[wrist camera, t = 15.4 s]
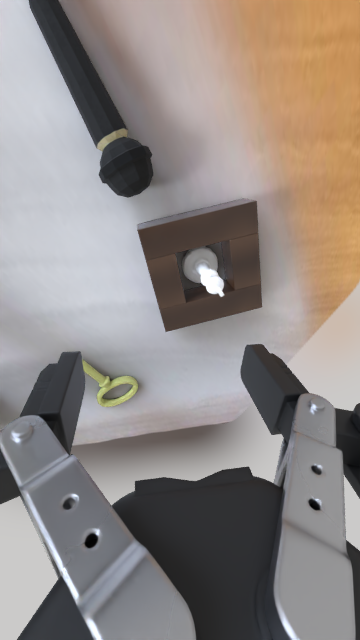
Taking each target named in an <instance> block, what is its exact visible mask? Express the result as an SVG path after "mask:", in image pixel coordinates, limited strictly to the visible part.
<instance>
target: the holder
mask: <svg viewBox="0 0 360 640" xmlns="http://www.w3.org/2000/svg"><path fill="white" fill-rule="evenodd" d="M138 234H139V237H140V241H141V245H142V248H143V252H144V255H145V259H146V262H147V266H148V270H149V273H150V277H151V280H152V284H153V288H154V291H155V295H156V298H157V302H158V305H159V309H160V313H161V316H162V320H163V323H164V327H165V331H166V332H168V331H172V330H175V329H179V328H183V327H187V326H191V325H195V324H199V323H203V322H207V321H210V320H214V319H218V318H222V317H226V316H230V315H234V314H238V313H242V312H245V311H249V310H253V309H257V308H261V307H262V296H261V277H260V258H259V239H258V220H257V201H254V200H249V199H239V200H235V201H231V202H227V203H223V204H219V205H215V206H211V207H207V208H203V209H199V210H194V211H190V212H186V213H182V214H178V215H174V216H170V217H166V218H162V219H158V220H154V221H149V222H145V223H141V224H138ZM219 242H221V245H222V253H223V261H224V269H225V277H226V280H224V281H223V282H224V287H223V289H222V292H223V293H224V296H222V297H221V296H220V295H219V294H218V293H217V294H211V293H209V292H208V291H207V289H206V286H200V287H197V288H193V289H189V290H185V291H183V286H182V282H181V277H180V272H179V268H178V263H177V259H176V254H175V253H179V252H183V251H187V250H191V249H195V248H199V247H203V246H207V245H211V244H215V243H219Z"/></svg>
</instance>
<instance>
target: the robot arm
mask: <svg viewBox="0 0 360 640" xmlns="http://www.w3.org/2000/svg"><path fill="white" fill-rule="evenodd" d="M241 379H242V381H243V383H244V385H245V387H246V389H247V390H248V392H249V394H250V396H251V398H252V400H253V402H254V403H255V405H256V407H257V409H258V411H259V413H260V414H261V416H262V418H263V420H264V422H265V423H266V425H267V427H268V429H269V431H270V433H271V434H272V435H275V434H282V435H283V437H284V439H283V442H282V446H281V450H280V456H279V461H278V465H277V470H276V475H275V479H274V483H272V482H270V481H267V480H265V479H262V478H259V477H254V476H253V475H252V473H251V470H250V468H249V467H242V468H234V469H226V470H222V471H219V472H217V473H214V474H212V475H210V476H208V477H205V478H203V479H201V480H198V481H188V480H181V479H173V478H166V477H163V478H156V479H148V480H140V481H135V491H134V492H132V493H129V494H128V495H126V496H124V497H122V498H121V499H119V500H118V501H117V502H116V503H114V504H113V505H112V506H111V505H110V503H109V502H108V500H107V499H106V498H105V496H104V495H103V493H102V492H101V491H100V490H99V488H98V487H97V485H96V484H95V482H94V481H93V480H92V478H91V477H90V476H89V474H88V473H87V471H86V470H85V469H84V467H83V466H82V464H81V463H80V462H79V460H78V459H77V458H76V457H75V456H74V455H73V454H71V455H70V452H71V447H72V443H73V439H74V434H75V430H76V425H77V421H78V417H79V412H80V408H81V404H82V399H83V395H84V390H85V376H84V369H83V363H82V356H81V352H80V351H79V352H62V354H61V356H60V359H59V361H58V364H49V365H48V366H47V367H46V368H45V369H44V370H42V371H41V373H40V375H39V377H38V379H37V382H36V383H35V385H34V388H33V390H32V392H31V394H30V396H29V398H28V400H27V402H26V404H25V406H24V409H23V411H22V413H21V415H20V417H19V418H18V419H16V420H14V421H12V422H10V423H9V424H8V425H7V426H5V427H4V429H3V430H2V431H1V432H0V504H2V503H4V502H7V501H9V500H11V499H14V498H16V497H18V496H20V497H21V499H22V501H23V504H24V506H25V508H26V510H27V512H28V514H29V516H30V518H31V521H32V522H33V525H34V527H35V529H36V531H37V533H38V535H39V538H40V540H41V542H42V544H43V547H44V549H45V551H46V553H47V556H48V558H49V560H50V562H51V564H52V566H53V569H54V570H55V573H56V575H57V577H58V581H57V582H56V584H55V585H54V586H53V588H52V589H51V591H50V592H49V594H48V595H47V597H46V598H45V599H44V601H43V602H42V604H41V605H40V607H39V608H38V610H37V611H36V613H35V614H34V615H33V617H32V619H31V620H30V621H29V623H28V624H27V626H26V627H25V628H24V630H23V631H22V633H21V634H20V636H19V637H18V639H17V640H360V551H359V550H358V549H356V548H355V547H354V546H353V545H352V544H350V543H349V542H348V541H347V540H346V531H345V530H346V529H345V503H344V476H343V474H344V475H345V477H346V478H347V480H348V481H349V483H350V484H351V486H352V487H353V489H354V491H355V492H356V494H357V495H358V497H359V498H360V403H359V404H357V405H356V407H355V408H354V411H348V410H342V409H337V408H334V407H333V405H332V404H331V403H330V402H329V401H327V400H326V399H324V398H323V397H321V396H318V395H315V394H311V393H309V392H308V391H307V390H306V388H305V387H304V386H303V385H302V383H301V382H300V381H299V380H298V379H297V377H296V376H295V375H294V374H292V371H291V370H290V369H289V368H287V365H286V364H285V363H284V362H283V361H282V359H280V358H279V357H277V356H276V355H274V354H273V353H272V354H270V353H269V352H268V350H267V349H266V348H265V347H264V345H262V344H255V345H247V346H246V347H245V351H244V356H243V361H242V365H241Z"/></svg>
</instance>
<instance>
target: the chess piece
mask: <svg viewBox="0 0 360 640" xmlns="http://www.w3.org/2000/svg"><path fill="white" fill-rule="evenodd" d="M217 269H218V259H217V257H216V255H215V253H214V252H213V251H212V250H211V249H210V248H207V247H204V246H203V247H199V248H195V249H191V250H189V251H188V252H187V253H186V255H185V256H184V258H183V261H182V270H183V273H184V275H185V276H186V277H187V278H188V279H189V280H191V281H193V282H196V283H202V284H203V285H204V286H206V289H207V291H208V292H209V293H211V294H217V293H218V294H219V295H220V296H221V297H222V296H224V293H223V292H222V289H223V287H224V282H223V280H222V279H221V278H220V277H219V276H218V273H217Z"/></svg>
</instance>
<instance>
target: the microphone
mask: <svg viewBox="0 0 360 640" xmlns="http://www.w3.org/2000/svg"><path fill="white" fill-rule="evenodd" d="M29 4H30V8H31V11H32V13H33V15H34V17H35V19H36V21H37V23H38V25H39V27H40V29H41V32H42V34H43V36H44V38H45V40H46V42H47V44H48V46H49V48H50V51H51V53H52V55H53V57H54V59H55V61H56V63H57V65H58V67H59V70H60V72H61V74H62V76H63V78H64V80H65V82H66V84H67V86H68V89H69V91H70V93H71V95H72V97H73V99H74V101H75V103H76V105H77V108H78V110H79V112H80V114H81V116H82V118H83V120H84V122H85V124H86V127H87V129H88V131H89V133H90V135H91V137H92V139H93V141H94V143H95V146H96V148H97V149H99V150H101V151H103V153H102V157H101V161H100V166H101V169H100V173H99V176H100V178H101V180H102V182H103V183H107V184H108V186H109V187H110V188H111V189H112V190H113V191H114V192H115V193H116V194H117V195H120V196H124V197H131V196H134V195H137V194H140V193H141V192H142V191H144V190H145V189H146V188H147V187H148V186H149V185H150V182H151V179H152V177H153V168H152V163H151V160H150V158H151V156H152V154H151V152H150V150H149V148H148V147H147V146H143V145H141V144H140V143H139V142H138V141H136V140H133V139H130V138H127V133H128V130H127V128H126V126H125V124H124V122H123V120H122V118H121V117H120V115H119V113H118V111H117V109H116V107H115V105H114V104H113V102H112V100H111V98H110V96H109V94H108V92H107V91H106V89H105V87H104V85H103V83H102V81H101V79H100V77H99V76H98V74H97V72H96V70H95V68H94V66H93V64H92V63H91V61H90V59H89V57H88V55H87V53H86V51H85V50H84V48H83V46H82V44H81V42H80V40H79V38H78V37H77V35H76V33H75V31H74V29H73V27H72V25H71V24H70V22H69V20H68V18H67V16H66V14H65V12H64V11H63V9H62V7H61V5H60V3H59V1H58V0H29Z"/></svg>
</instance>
